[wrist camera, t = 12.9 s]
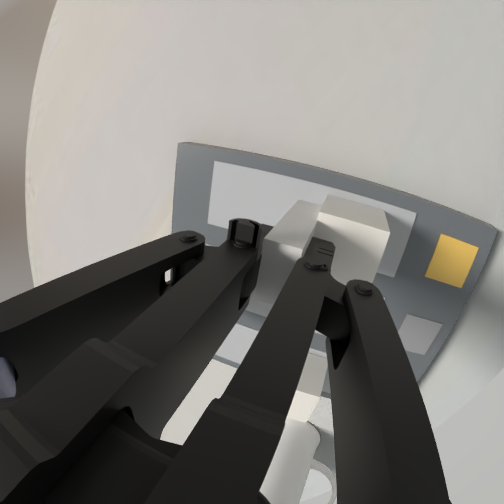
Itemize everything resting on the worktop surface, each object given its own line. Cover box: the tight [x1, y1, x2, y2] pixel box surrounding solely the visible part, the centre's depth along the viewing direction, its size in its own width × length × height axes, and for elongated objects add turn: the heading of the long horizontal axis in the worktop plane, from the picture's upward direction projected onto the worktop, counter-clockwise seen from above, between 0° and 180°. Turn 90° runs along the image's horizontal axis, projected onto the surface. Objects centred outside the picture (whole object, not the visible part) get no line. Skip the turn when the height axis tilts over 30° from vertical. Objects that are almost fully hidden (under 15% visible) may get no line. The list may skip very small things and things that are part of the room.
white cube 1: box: [313, 195, 390, 285], centre depth 16 cm, size 4×4×4 cm
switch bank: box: [170, 142, 498, 399], centre depth 21 cm, size 18×22×1 cm
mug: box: [260, 417, 337, 504], centre depth 24 cm, size 12×8×12 cm
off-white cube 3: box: [287, 353, 328, 423], centre depth 21 cm, size 4×4×4 cm
